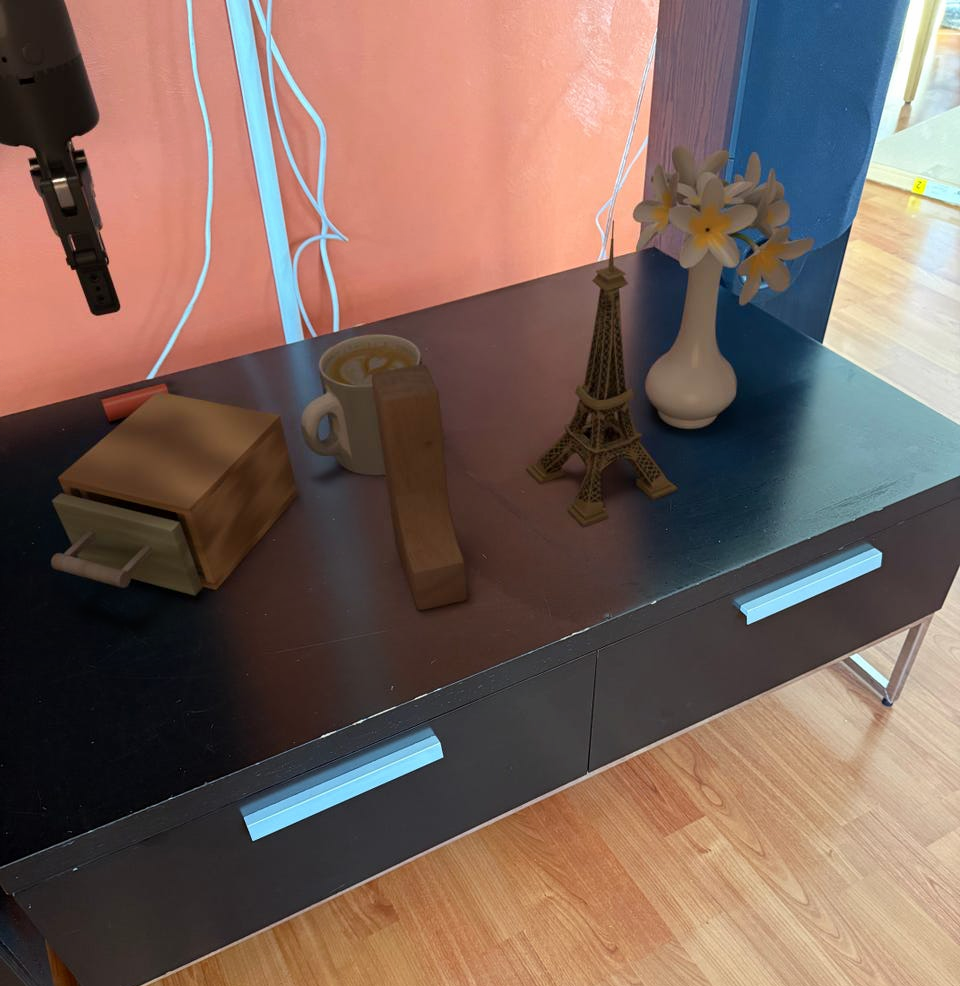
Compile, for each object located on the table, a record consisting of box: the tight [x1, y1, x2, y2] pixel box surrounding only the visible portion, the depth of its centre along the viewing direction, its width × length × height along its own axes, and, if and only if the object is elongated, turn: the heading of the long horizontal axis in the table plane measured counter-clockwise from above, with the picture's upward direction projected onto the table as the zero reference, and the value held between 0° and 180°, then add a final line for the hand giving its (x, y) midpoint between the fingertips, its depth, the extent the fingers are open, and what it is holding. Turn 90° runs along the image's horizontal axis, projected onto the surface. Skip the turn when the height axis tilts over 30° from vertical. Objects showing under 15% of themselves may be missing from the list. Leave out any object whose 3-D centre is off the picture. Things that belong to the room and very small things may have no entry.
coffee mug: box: [300, 333, 423, 476], centre depth 94 cm, size 13×10×10 cm
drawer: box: [50, 489, 204, 597], centre depth 85 cm, size 18×12×7 cm
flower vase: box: [632, 144, 815, 430], centre depth 91 cm, size 13×18×25 cm
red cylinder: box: [101, 382, 170, 423], centre depth 105 cm, size 7×2×2 cm, turn 115°
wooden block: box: [372, 363, 468, 611], centre depth 78 cm, size 9×4×18 cm, turn 16°
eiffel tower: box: [525, 220, 678, 528], centre depth 84 cm, size 11×11×25 cm
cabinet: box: [57, 392, 299, 591], centre depth 88 cm, size 15×14×9 cm
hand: (101, 288), depth 74 cm, fingers open, 8 cm apart
